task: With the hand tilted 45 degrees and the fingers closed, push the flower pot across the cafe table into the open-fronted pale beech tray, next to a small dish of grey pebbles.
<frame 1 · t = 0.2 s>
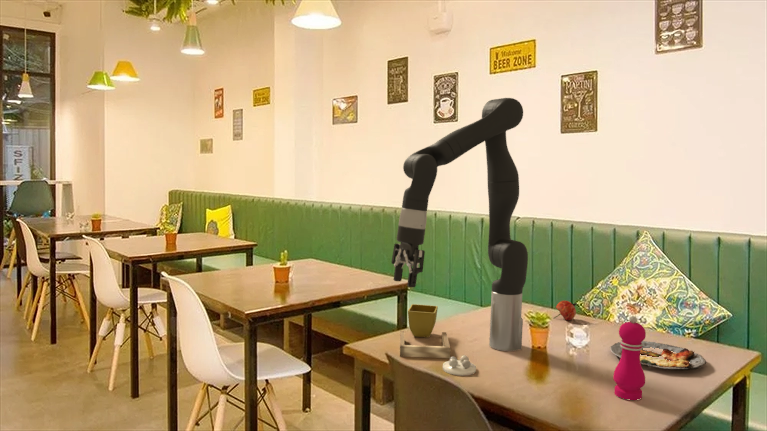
hand: (404, 283, 159), 22 cm above the table, tool pointing down, fingers open, 8 cm apart
pebble dish: (459, 369, 156), on the table
flower pot: (422, 335, 186), on the table
pomegranate: (564, 320, 209), on the table
pepper mill: (627, 396, 141), on the table
beech tray: (423, 348, 173), on the table
food plate: (656, 361, 168), on the table
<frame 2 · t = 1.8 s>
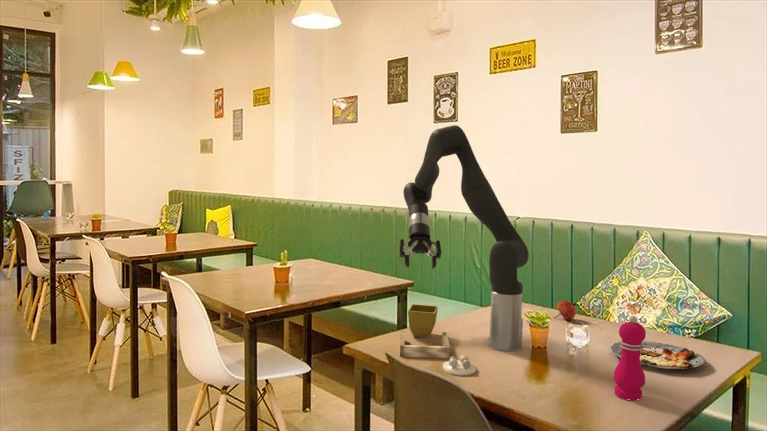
hand: (420, 266, 193), 21 cm above the table, tool tilted 45°, fingers open, 8 cm apart
nothing on the table moved.
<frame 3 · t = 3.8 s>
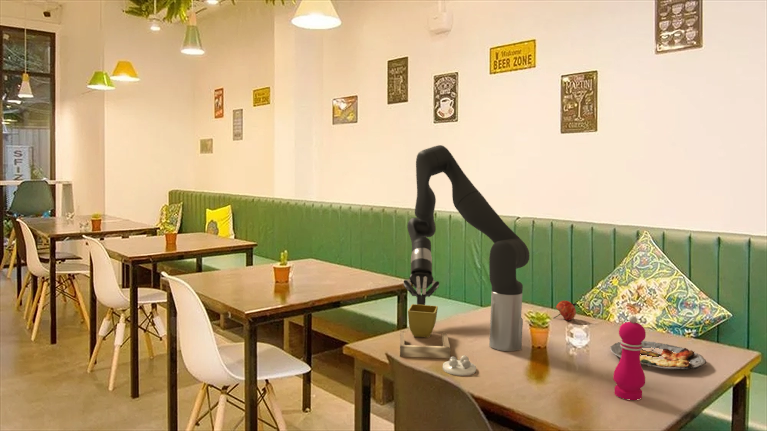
hand: (421, 305, 194), 8 cm above the table, tool tilted 45°, fingers closed
nothing on the table moved.
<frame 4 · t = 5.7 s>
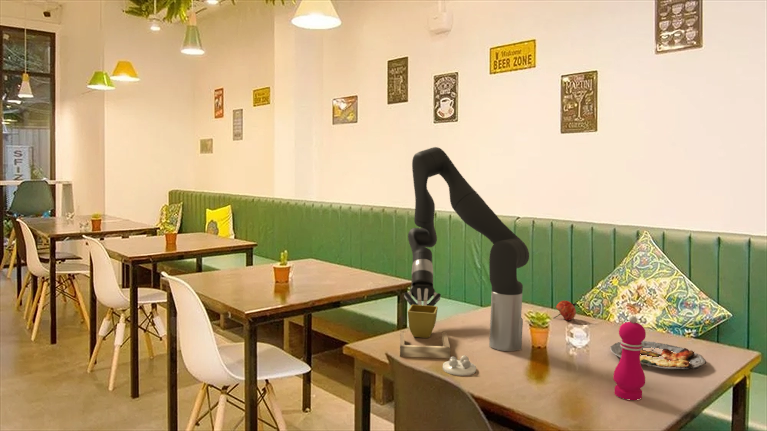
hand: (422, 318, 190), 4 cm above the table, tool tilted 45°, fingers closed
flower pot: (422, 336, 185), on the table, touching gripper
everything else where it was.
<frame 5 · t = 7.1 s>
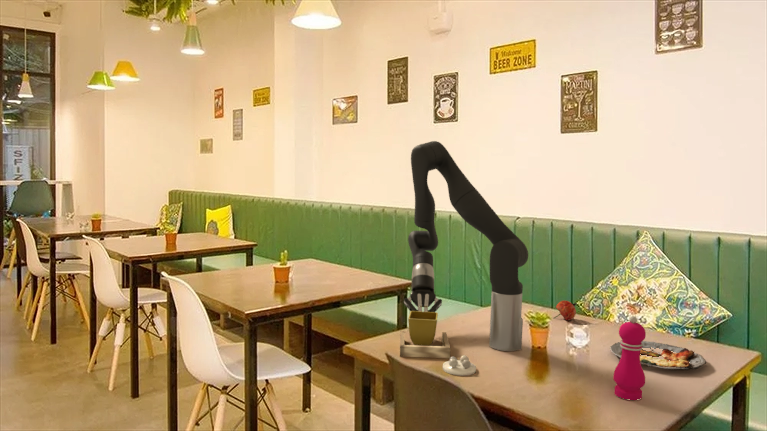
hand: (422, 325, 182), 4 cm above the table, tool tilted 45°, fingers closed
flower pot: (422, 344, 177), on the table, touching gripper
everything else where it was.
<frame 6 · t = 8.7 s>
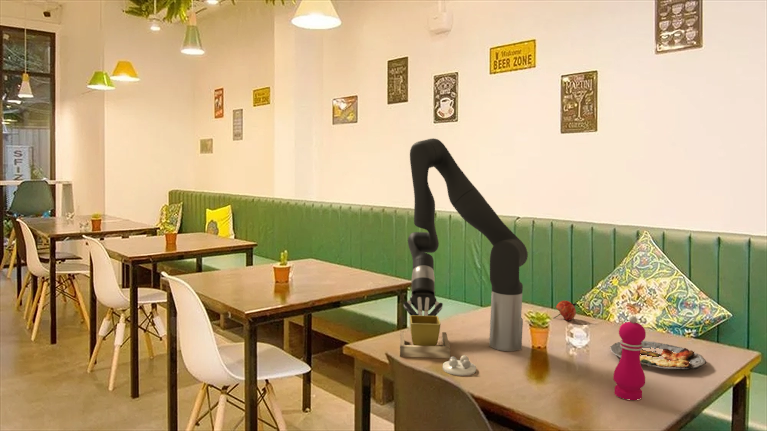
hand: (423, 330, 177), 4 cm above the table, tool tilted 45°, fingers closed
flower pot: (423, 349, 173), on the table, touching gripper
everything else where it was.
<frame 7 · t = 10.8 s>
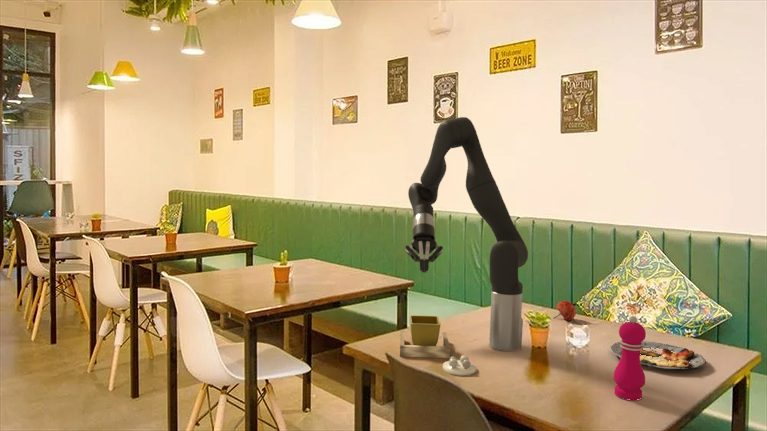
hand: (424, 271, 185), 21 cm above the table, tool tilted 45°, fingers closed
flower pot: (423, 349, 173), on the table
everything else where it was.
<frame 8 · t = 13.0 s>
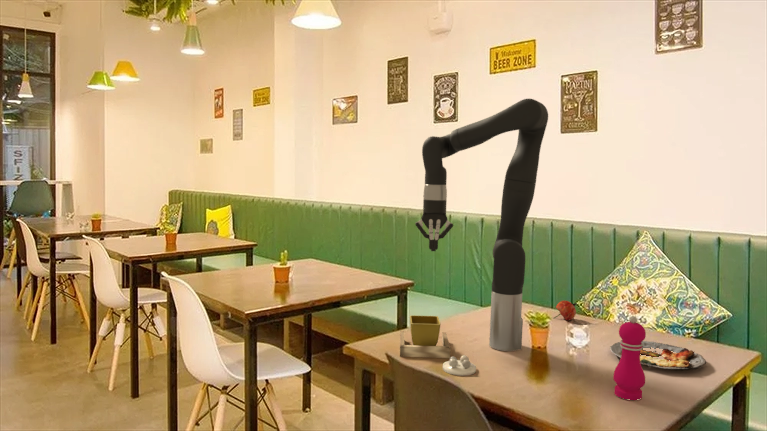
hand: (433, 250, 188), 27 cm above the table, tool pointing down, fingers closed
nothing on the table moved.
at the end: flower pot inside the target area (0.1 cm from its centre), on the table; flower pot tilted 0° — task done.
